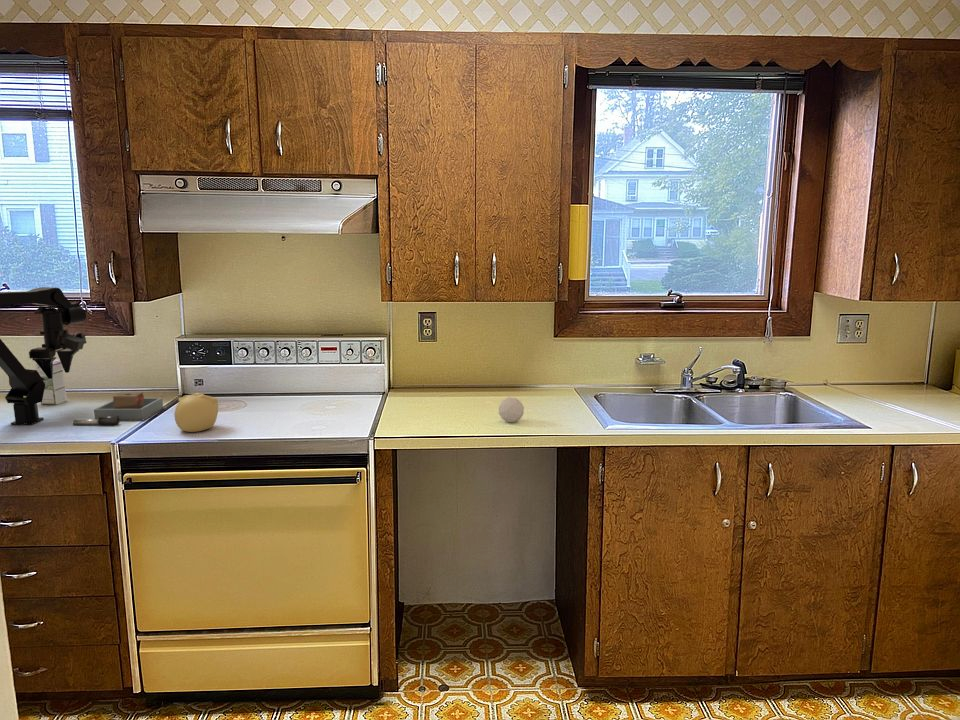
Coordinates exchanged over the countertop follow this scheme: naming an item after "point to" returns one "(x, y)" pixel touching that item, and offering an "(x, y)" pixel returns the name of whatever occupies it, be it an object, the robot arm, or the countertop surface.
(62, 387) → the syrup box
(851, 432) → the countertop surface
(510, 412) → the ball
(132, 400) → the block
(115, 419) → the pin gauge
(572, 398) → the countertop surface
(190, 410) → the sculpture
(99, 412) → the tray
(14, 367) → the robot arm
